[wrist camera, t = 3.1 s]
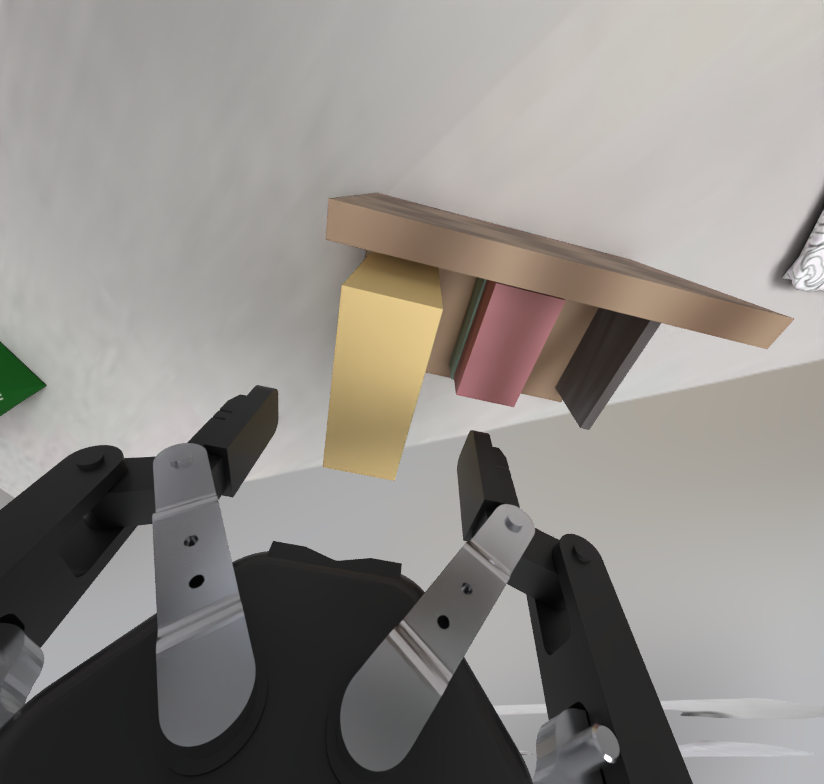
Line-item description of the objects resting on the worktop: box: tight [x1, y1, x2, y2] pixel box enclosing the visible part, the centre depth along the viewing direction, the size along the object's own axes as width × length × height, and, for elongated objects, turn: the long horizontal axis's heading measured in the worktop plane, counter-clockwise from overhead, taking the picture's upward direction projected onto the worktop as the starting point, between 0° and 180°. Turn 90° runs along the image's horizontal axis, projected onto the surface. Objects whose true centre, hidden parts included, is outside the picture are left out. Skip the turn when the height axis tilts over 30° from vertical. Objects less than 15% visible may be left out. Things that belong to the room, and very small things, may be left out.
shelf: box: [326, 193, 794, 430], centre depth 24 cm, size 22×14×14 cm, turn 77°
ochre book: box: [323, 251, 443, 481], centre depth 22 cm, size 4×10×16 cm, turn 167°
